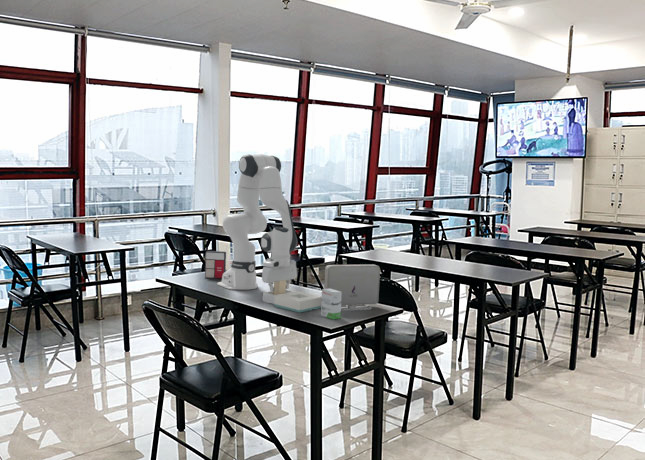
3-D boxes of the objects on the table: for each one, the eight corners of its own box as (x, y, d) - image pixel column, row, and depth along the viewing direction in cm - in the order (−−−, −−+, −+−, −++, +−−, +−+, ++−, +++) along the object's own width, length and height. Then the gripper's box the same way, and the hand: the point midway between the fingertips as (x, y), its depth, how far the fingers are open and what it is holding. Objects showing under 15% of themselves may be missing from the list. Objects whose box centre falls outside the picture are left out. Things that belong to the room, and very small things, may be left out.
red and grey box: (204, 278, 334) (205, 251, 332) (206, 276, 338) (206, 250, 336) (224, 279, 333) (224, 252, 332) (225, 277, 338) (226, 251, 336)
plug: (273, 300, 284) (273, 279, 283) (279, 299, 287) (279, 278, 286) (279, 301, 282) (279, 281, 281) (285, 300, 285) (285, 280, 284)
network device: (327, 311, 267) (329, 267, 265) (321, 306, 275) (323, 264, 273) (380, 309, 275) (382, 266, 273) (372, 304, 283) (374, 263, 281)
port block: (274, 306, 272) (274, 295, 272) (298, 301, 284) (298, 291, 284) (299, 312, 262) (299, 301, 261) (323, 307, 274) (323, 296, 273)
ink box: (341, 318, 254) (342, 291, 253) (332, 319, 252) (333, 292, 250) (329, 314, 261) (330, 287, 260) (320, 315, 258) (321, 288, 257)
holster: (262, 301, 282) (262, 292, 282) (283, 297, 292) (283, 289, 292) (274, 304, 277) (274, 295, 276) (295, 299, 287) (295, 291, 287)
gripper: (291, 258, 292) (290, 286, 294) (260, 262, 277) (259, 291, 279) (300, 260, 288) (299, 288, 290) (269, 264, 273) (268, 293, 274)
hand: (279, 289), depth 284 cm, fingers open, 8 cm apart
